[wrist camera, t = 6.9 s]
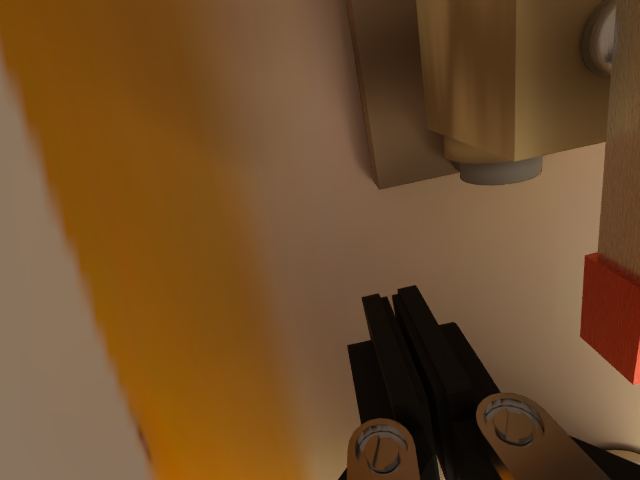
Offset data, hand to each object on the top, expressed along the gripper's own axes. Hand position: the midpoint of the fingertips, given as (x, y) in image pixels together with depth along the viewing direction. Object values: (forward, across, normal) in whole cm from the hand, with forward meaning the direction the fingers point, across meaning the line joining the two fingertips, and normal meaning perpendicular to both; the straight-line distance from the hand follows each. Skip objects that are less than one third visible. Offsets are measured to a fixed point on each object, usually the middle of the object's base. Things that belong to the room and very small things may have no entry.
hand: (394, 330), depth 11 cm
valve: (+10, -7, -7) cm, 14 cm away
